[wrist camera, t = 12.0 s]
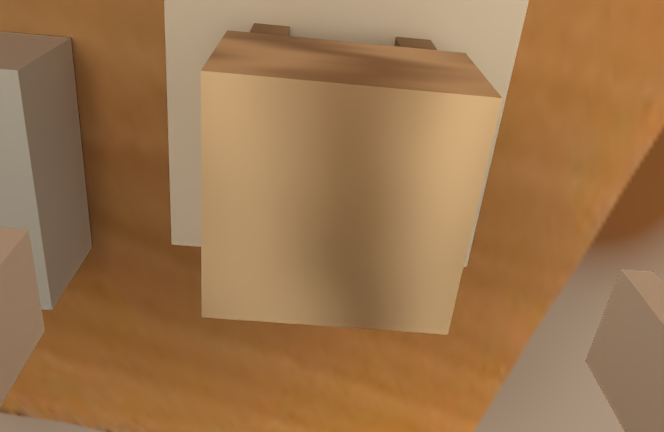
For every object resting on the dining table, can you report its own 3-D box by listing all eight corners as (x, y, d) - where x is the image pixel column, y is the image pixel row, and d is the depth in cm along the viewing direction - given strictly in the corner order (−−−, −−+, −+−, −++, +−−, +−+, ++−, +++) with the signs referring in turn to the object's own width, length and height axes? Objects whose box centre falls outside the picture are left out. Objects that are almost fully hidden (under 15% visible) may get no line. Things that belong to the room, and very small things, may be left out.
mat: (175, 236, 30) (171, 244, 29) (166, -88, 23) (161, -87, 23) (463, 257, 31) (466, 266, 30) (533, -50, 24) (540, -48, 23)
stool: (237, 193, 28) (201, 317, 20) (241, 8, 24) (200, 70, 16) (413, 207, 28) (447, 334, 20) (445, 28, 25) (502, 98, 17)
